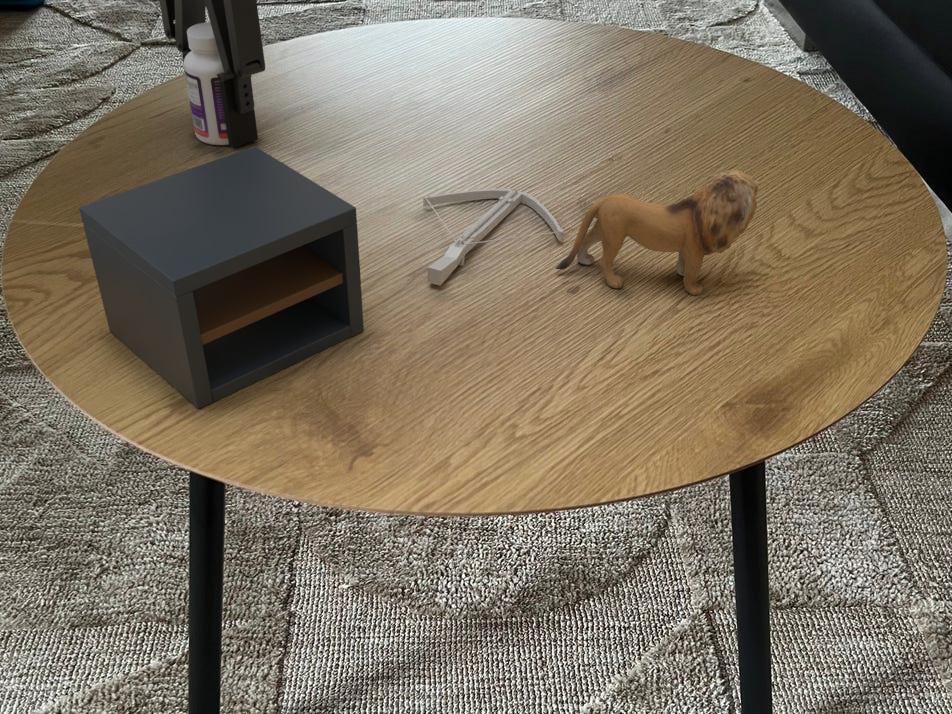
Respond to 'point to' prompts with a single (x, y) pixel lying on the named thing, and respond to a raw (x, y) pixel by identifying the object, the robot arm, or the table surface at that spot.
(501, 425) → the table surface
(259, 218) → the shelf
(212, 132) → the pill bottle
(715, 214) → the lion figurine
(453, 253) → the crossbow
